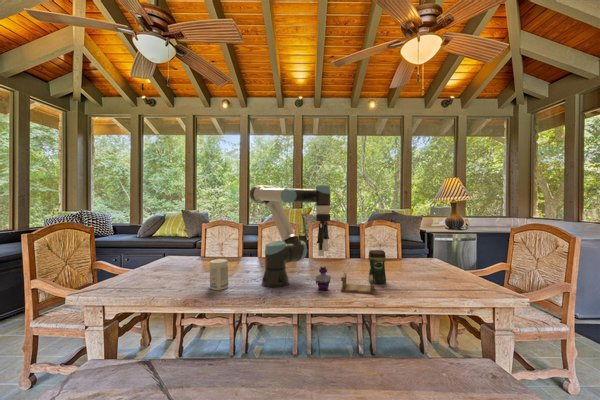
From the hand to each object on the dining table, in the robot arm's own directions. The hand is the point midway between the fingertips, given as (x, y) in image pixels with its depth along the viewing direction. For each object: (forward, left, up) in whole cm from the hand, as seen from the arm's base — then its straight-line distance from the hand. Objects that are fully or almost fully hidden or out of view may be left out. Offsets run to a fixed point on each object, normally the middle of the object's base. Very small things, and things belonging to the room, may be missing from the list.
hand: (323, 253), depth 147 cm
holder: (+18, +4, -19) cm, 26 cm away
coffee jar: (+28, +20, -19) cm, 39 cm away
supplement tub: (-55, -12, -19) cm, 60 cm away
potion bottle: (0, 0, -19) cm, 19 cm away
